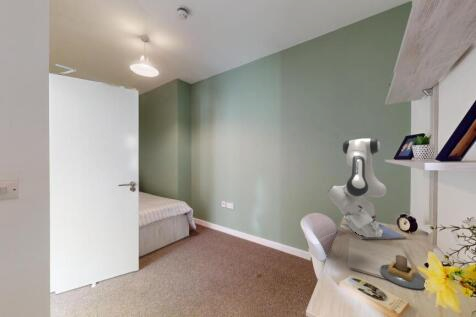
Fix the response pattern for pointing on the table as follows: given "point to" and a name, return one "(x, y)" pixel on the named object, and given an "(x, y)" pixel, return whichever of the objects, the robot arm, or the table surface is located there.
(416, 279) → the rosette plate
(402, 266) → the walnut post
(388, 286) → the table surface
